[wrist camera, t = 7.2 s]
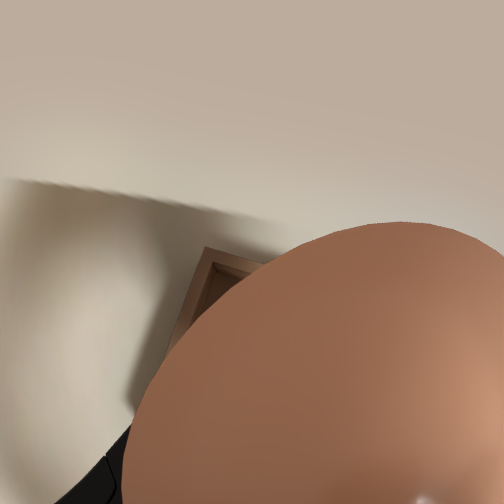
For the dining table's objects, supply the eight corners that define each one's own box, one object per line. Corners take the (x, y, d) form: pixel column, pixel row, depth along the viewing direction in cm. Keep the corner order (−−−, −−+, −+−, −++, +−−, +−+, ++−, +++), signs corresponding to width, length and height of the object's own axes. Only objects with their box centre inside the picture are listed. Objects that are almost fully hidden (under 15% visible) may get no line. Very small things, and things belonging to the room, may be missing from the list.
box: (408, 319, 21) (428, 312, 18) (358, 489, 16) (372, 503, 14) (210, 261, 23) (205, 246, 20) (149, 437, 18) (135, 447, 15)
